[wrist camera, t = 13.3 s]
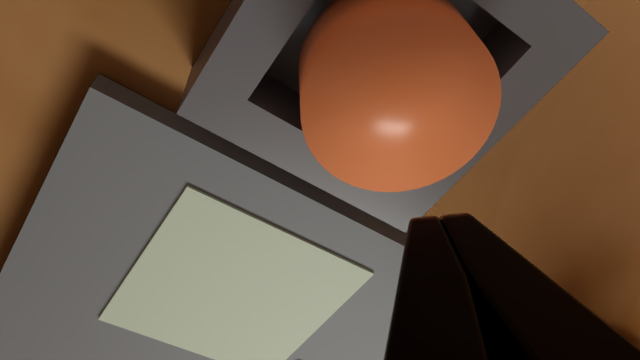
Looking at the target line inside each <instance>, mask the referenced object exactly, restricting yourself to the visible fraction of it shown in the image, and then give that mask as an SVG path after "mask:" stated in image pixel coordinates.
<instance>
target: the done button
mask: <svg viewBox="0 0 640 360" xmlns="http://www.w3.org/2000/svg"><path fill="white" fill-rule="evenodd" d="M299 93H300V116H301V125H302V131H303V134H304V138H305V141H306V143H307V145H308V147H309V149H310V151H311V153H312V154H313V156H314V157H315V158H316V160H317V161H318V162H319V163H320V164H321V165H322V166H323V168H324V169H326V170H327V171H328V172H329V173H331V174H332V175H333V176H335V177H336V178H338V179H340V180H341V181H343V182H345V183H347V184H350V185H352V186H355V187H358V188H361V189H365V190H370V191H377V192H401V191H409V190H413V189H418V188H422V187H425V186H428V185H431V184H433V183H435V182H438V181H440V180H442V179H444V178H446V177H448V176H449V175H451V174H453V173H454V172H456V171H457V170H458V169H460V168H461V167H463V166H464V165H465V164H466V163H467V162H468V161H469V160H471V159H472V158H473V157H474V156H475V154H476V153H477V152H478V151H479V150H480V149H481V147H482V146H483V145H484V143H485V142H486V140H487V139H488V137H489V135H490V134H491V132H492V130H493V128H494V125H495V123H496V120H497V118H498V114H499V109H500V104H501V81H500V76H499V71H498V68H497V66H496V63H495V61H494V59H493V57H492V55H491V54H490V52H489V50H488V49H487V47H486V46H485V45H484V44H483V42H482V41H481V40H480V38H479V37H478V36H477V34H476V33H475V32H474V31H473V29H472V28H471V27H470V25H469V24H468V23H467V21H466V20H465V19H464V18H463V16H462V15H461V14H460V12H459V11H458V10H457V9H456V7H455V6H454V5H453V4H452V3H451V2H450V1H449V0H333V1H332V2H331V3H329V4H328V5H327V6H326V7H325V8H324V9H323V10H322V11H321V12H320V14H319V15H318V16H317V17H316V19H315V20H314V21H313V23H312V25H311V26H310V28H309V30H308V31H307V34H306V36H305V38H304V41H303V44H302V47H301V51H300V56H299Z"/></svg>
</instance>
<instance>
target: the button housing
mask: <svg viewBox="0 0 640 360" xmlns="http://www.w3.org/2000/svg"><path fill="white" fill-rule="evenodd" d="M332 1H333V0H231V2H230V4H229V5H228V7H227V9H226V10H225V12H224V14H223V16H222V17H221V19H220V21H219V22H218V24H217V26H216V28H215V29H214V31H213V33H212V34H211V36H210V38H209V39H208V41H207V43H206V45H205V46H204V48H203V50H202V51H201V53H200V55H199V57H198V58H197V60H196V62H195V63H194V65H193V67H192V69H191V72H190V75H189V77H188V80H187V83H186V86H185V89H184V92H183V95H182V98H181V101H180V104H179V107H178V110H177V113H176V114H178V115H180V116H182V117H183V118H185V119H187V120H189V121H191V122H193V123H195V124H197V125H199V126H201V127H203V128H205V129H207V130H209V131H210V132H212V133H214V134H216V135H218V136H220V137H222V138H224V139H226V140H228V141H230V142H232V143H234V144H235V145H237V146H239V147H241V148H243V149H245V150H247V151H249V152H251V153H253V154H255V155H257V156H259V157H260V158H262V159H264V160H266V161H268V162H270V163H272V164H274V165H276V166H278V167H280V168H282V169H284V170H286V171H287V172H289V173H291V174H293V175H295V176H297V177H299V178H301V179H303V180H305V181H307V182H309V183H311V184H312V185H314V186H316V187H318V188H320V189H322V190H324V191H326V192H328V193H330V194H332V195H334V196H336V197H337V198H339V199H341V200H343V201H345V202H347V203H349V204H351V205H353V206H355V207H357V208H359V209H361V210H363V211H364V212H366V213H368V214H370V215H372V216H374V217H376V218H378V219H380V220H382V221H384V222H386V223H388V224H389V225H391V226H393V227H395V228H397V229H399V230H401V231H403V232H405V233H406V232H407V230H408V225H409V221H410V219H412V218H415V217H422V216H423V215H424V214H425V213H426V212H427V211H428V210H429V209H430V208H431V207H432V206H433V205H434V204H435V203H436V202H437V201H438V200H439V199H440V198H441V197H442V196H443V195H444V194H445V193H446V192H447V191H448V190H449V189H450V188H451V187H452V186H453V185H454V184H455V183H456V182H457V181H458V180H459V179H460V178H462V177H463V176H464V175H465V174H466V173H467V172H468V171H469V170H470V169H471V168H472V167H473V166H474V165H475V164H476V163H477V162H478V161H479V160H480V159H481V158H482V157H483V156H484V155H485V154H486V153H487V152H488V151H489V150H490V149H491V148H492V147H493V146H494V145H495V144H496V143H497V142H498V141H499V140H500V139H501V138H502V137H503V136H504V135H505V134H506V133H507V132H508V131H509V130H510V129H511V128H512V127H513V126H514V125H515V124H516V123H517V122H518V121H519V120H520V119H521V118H522V117H523V116H524V115H525V114H526V113H527V112H528V111H529V110H530V109H532V108H533V107H534V106H535V105H536V104H537V103H538V102H539V101H540V100H541V99H542V98H543V97H544V96H545V95H546V94H547V93H548V92H549V91H550V90H551V89H552V88H553V87H554V86H555V85H556V84H557V83H558V82H559V81H560V80H561V79H562V78H563V77H564V76H565V75H566V74H567V73H568V72H569V71H570V70H571V69H572V68H573V67H574V66H575V65H576V64H577V63H578V62H579V61H580V60H581V59H582V58H583V57H584V56H585V55H586V54H587V53H588V52H589V51H590V50H591V49H592V48H593V47H594V46H595V45H596V44H597V43H598V42H599V41H600V40H602V39H603V38H604V37H605V36H606V35H607V34H608V33H609V31H608V30H607V29H606V28H604V27H603V26H602V25H601V24H600V23H599V22H598V21H596V20H595V19H594V18H593V17H592V16H591V15H589V14H588V13H587V12H586V11H585V10H584V9H582V8H581V7H580V6H579V5H578V4H577V3H576V2H574V1H573V0H449V1H450V2H451V3H452V4H453V5H454V6H455V7H456V9H457V10H458V11H459V12H460V14H461V15H462V16H463V18H464V19H465V20H466V21H467V23H468V24H469V25H470V27H471V28H472V29H473V31H474V32H475V33H476V34H477V36H478V37H479V38H480V40H481V41H482V42H483V44H484V45H485V46H486V47H487V49H488V50H489V52H490V54H491V55H492V57H493V59H494V61H495V63H496V66H497V68H498V71H499V76H500V81H501V104H500V109H499V114H498V118H497V120H496V123H495V125H494V128H493V130H492V132H491V134H490V135H489V137H488V139H487V140H486V142H485V143H484V145H483V146H482V147H481V149H480V150H479V151H478V152H477V153H476V154H475V156H474V157H473V158H472V159H471V160H469V161H468V162H467V163H466V164H465V165H464V166H463V167H461V168H460V169H458V170H457V171H456V172H454V173H453V174H451V175H449V176H448V177H446V178H444V179H442V180H440V181H438V182H435V183H433V184H431V185H428V186H425V187H422V188H418V189H413V190H409V191H401V192H377V191H370V190H365V189H361V188H358V187H355V186H352V185H350V184H347V183H345V182H343V181H341V180H340V179H338V178H336V177H335V176H333V175H332V174H331V173H329V172H328V171H327V170H326V169H324V168H323V166H322V165H321V164H320V163H319V162H318V161H317V160H316V158H315V157H314V156H313V154H312V153H311V151H310V149H309V147H308V145H307V143H306V141H305V138H304V134H303V131H302V125H301V116H300V93H299V56H300V51H301V47H302V44H303V41H304V38H305V36H306V34H307V31H308V30H309V28H310V26H311V25H312V23H313V21H314V20H315V19H316V17H317V16H318V15H319V14H320V12H321V11H322V10H323V9H324V8H325V7H326V6H327V5H328V4H329V3H331V2H332Z"/></svg>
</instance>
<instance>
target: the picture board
mask: <svg viewBox="0 0 640 360" xmlns="http://www.w3.org/2000/svg"><path fill="white" fill-rule="evenodd" d="M406 235H407V233H405V232H403V231H401V230H399V229H397V228H395V227H393V226H391V225H389V224H387V223H385V222H383V221H382V220H380V219H378V218H376V217H374V216H372V215H370V214H368V213H366V212H364V211H362V210H360V209H358V208H357V207H355V206H353V205H351V204H349V203H347V202H345V201H343V200H341V199H339V198H337V197H335V196H333V195H331V194H330V193H328V192H326V191H324V190H322V189H320V188H318V187H316V186H314V185H312V184H310V183H308V182H306V181H305V180H303V179H301V178H299V177H297V176H295V175H293V174H291V173H289V172H287V171H285V170H283V169H281V168H280V167H278V166H276V165H274V164H272V163H270V162H268V161H266V160H264V159H262V158H260V157H258V156H256V155H254V154H253V153H251V152H249V151H247V150H245V149H243V148H241V147H239V146H237V145H235V144H233V143H231V142H229V141H228V140H226V139H224V138H222V137H220V136H218V135H216V134H214V133H212V132H210V131H208V130H206V129H204V128H202V127H201V126H199V125H197V124H195V123H193V122H191V121H189V120H187V119H185V118H183V117H181V116H179V115H177V114H176V113H174V112H172V111H170V110H168V109H166V108H164V107H162V106H160V105H158V104H156V103H154V102H152V101H151V100H149V99H147V98H145V97H143V96H141V95H139V94H137V93H135V92H133V91H131V90H129V89H127V88H125V87H124V86H122V85H120V84H118V83H116V82H114V81H112V80H110V79H108V78H106V77H104V76H102V75H100V74H98V75H97V77H96V78H95V80H94V82H93V83H92V85H91V86H90V88H89V90H88V92H87V94H86V96H85V98H84V100H83V102H82V104H81V106H80V109H79V111H78V113H77V115H76V117H75V119H74V121H73V123H72V125H71V127H70V129H69V131H68V133H67V136H66V138H65V140H64V142H63V144H62V146H61V148H60V150H59V152H58V154H57V156H56V158H55V160H54V162H53V165H52V167H51V169H50V171H49V173H48V175H47V177H46V179H45V181H44V183H43V185H42V187H41V189H40V191H39V194H38V196H37V198H36V200H35V202H34V204H33V206H32V208H31V210H30V212H29V214H28V216H27V218H26V220H25V223H24V225H23V227H22V229H21V231H20V233H19V235H18V237H17V239H16V241H15V243H14V245H13V247H12V249H11V252H10V254H9V256H8V258H7V260H6V262H5V264H4V266H3V268H2V270H1V272H0V360H383V359H384V354H385V348H386V343H387V338H388V332H389V327H390V322H391V316H392V311H393V305H394V300H395V295H396V289H397V284H398V278H399V273H400V268H401V262H402V257H403V251H404V246H405V241H406Z"/></svg>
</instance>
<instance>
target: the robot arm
mask: <svg viewBox="0 0 640 360" xmlns="http://www.w3.org/2000/svg"><path fill="white" fill-rule="evenodd" d="M383 360H640V350H639V349H638V348H637V347H636V346H634V345H633V344H632V343H631V342H629V341H628V340H627V339H626V338H624V337H623V336H622V335H621V334H619V333H618V332H617V331H616V330H614V329H613V328H612V327H611V326H609V325H608V324H607V323H606V322H604V321H603V320H602V319H601V318H599V317H598V316H597V315H596V314H594V313H593V312H592V311H591V310H589V309H588V308H587V307H586V306H584V305H583V304H582V303H581V302H579V301H578V300H577V299H576V298H574V297H573V296H572V295H571V294H569V293H568V292H567V291H566V290H564V289H563V288H562V287H561V286H559V285H558V284H557V283H556V282H554V281H553V280H552V279H551V278H549V277H548V276H547V275H546V274H544V273H543V272H542V271H541V270H539V269H538V268H537V267H536V266H534V265H533V264H532V263H531V262H529V261H528V260H527V259H526V258H524V257H523V256H522V255H521V254H519V253H518V252H517V251H516V250H514V249H513V248H512V247H511V246H509V245H508V244H507V243H506V242H504V241H503V240H502V239H501V238H499V237H498V236H497V235H496V234H494V233H493V232H492V231H491V230H489V229H488V228H487V227H486V226H484V225H483V224H482V223H481V222H479V221H478V220H477V219H476V218H474V217H473V216H472V215H470V214H468V213H458V214H448V215H442V216H441V217H440V218H438V217H436V216H426V217H415V218H412V219H410V221H409V225H408V230H407V235H406V241H405V246H404V251H403V257H402V262H401V268H400V273H399V278H398V284H397V289H396V295H395V300H394V305H393V311H392V316H391V322H390V327H389V332H388V338H387V343H386V348H385V354H384V359H383Z"/></svg>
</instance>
